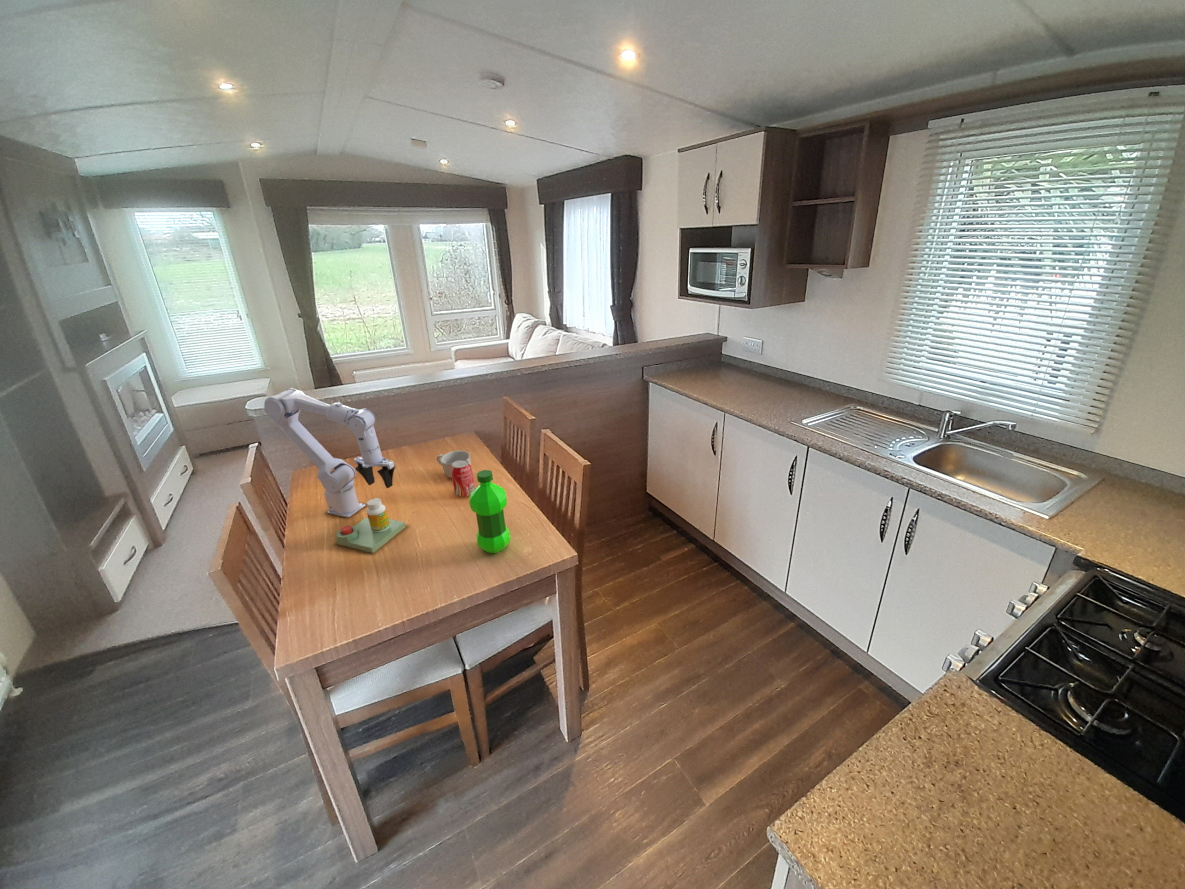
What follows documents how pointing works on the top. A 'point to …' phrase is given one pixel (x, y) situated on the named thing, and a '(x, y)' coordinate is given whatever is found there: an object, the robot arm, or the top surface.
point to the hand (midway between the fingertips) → (380, 485)
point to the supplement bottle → (377, 515)
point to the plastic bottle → (490, 513)
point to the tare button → (346, 530)
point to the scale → (369, 536)
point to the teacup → (452, 460)
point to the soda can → (462, 478)
